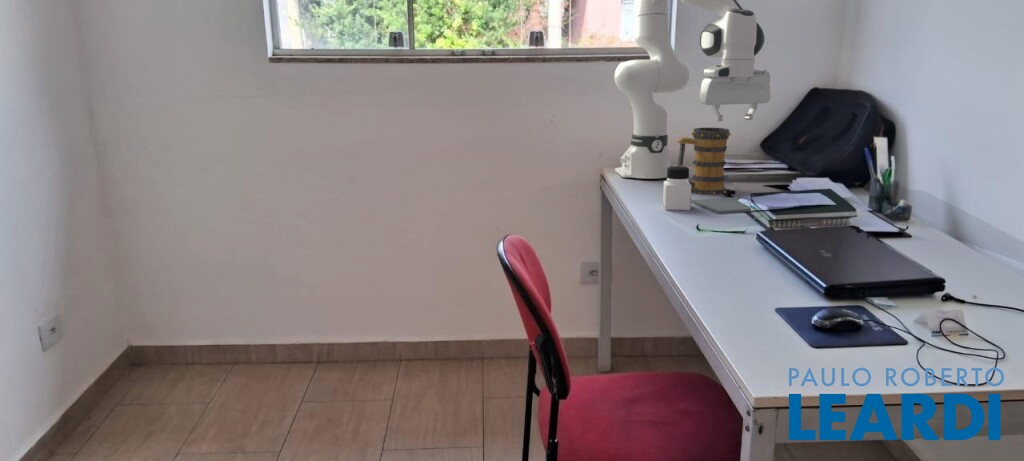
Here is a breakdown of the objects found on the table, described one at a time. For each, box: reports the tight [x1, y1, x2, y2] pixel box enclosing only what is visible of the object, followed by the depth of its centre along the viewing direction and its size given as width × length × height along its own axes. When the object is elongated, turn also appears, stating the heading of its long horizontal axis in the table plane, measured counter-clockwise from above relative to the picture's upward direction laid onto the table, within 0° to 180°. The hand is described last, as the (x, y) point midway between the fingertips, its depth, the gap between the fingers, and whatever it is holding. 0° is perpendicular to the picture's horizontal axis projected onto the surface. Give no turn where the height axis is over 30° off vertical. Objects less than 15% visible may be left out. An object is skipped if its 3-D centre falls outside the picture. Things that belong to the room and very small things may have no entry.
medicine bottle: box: [662, 164, 693, 211], centre depth 216 cm, size 7×7×12 cm
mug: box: [676, 127, 732, 196], centre depth 235 cm, size 13×17×20 cm
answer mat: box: [691, 196, 752, 215], centre depth 218 cm, size 16×16×1 cm
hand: (733, 120), depth 212 cm, fingers open, 8 cm apart
